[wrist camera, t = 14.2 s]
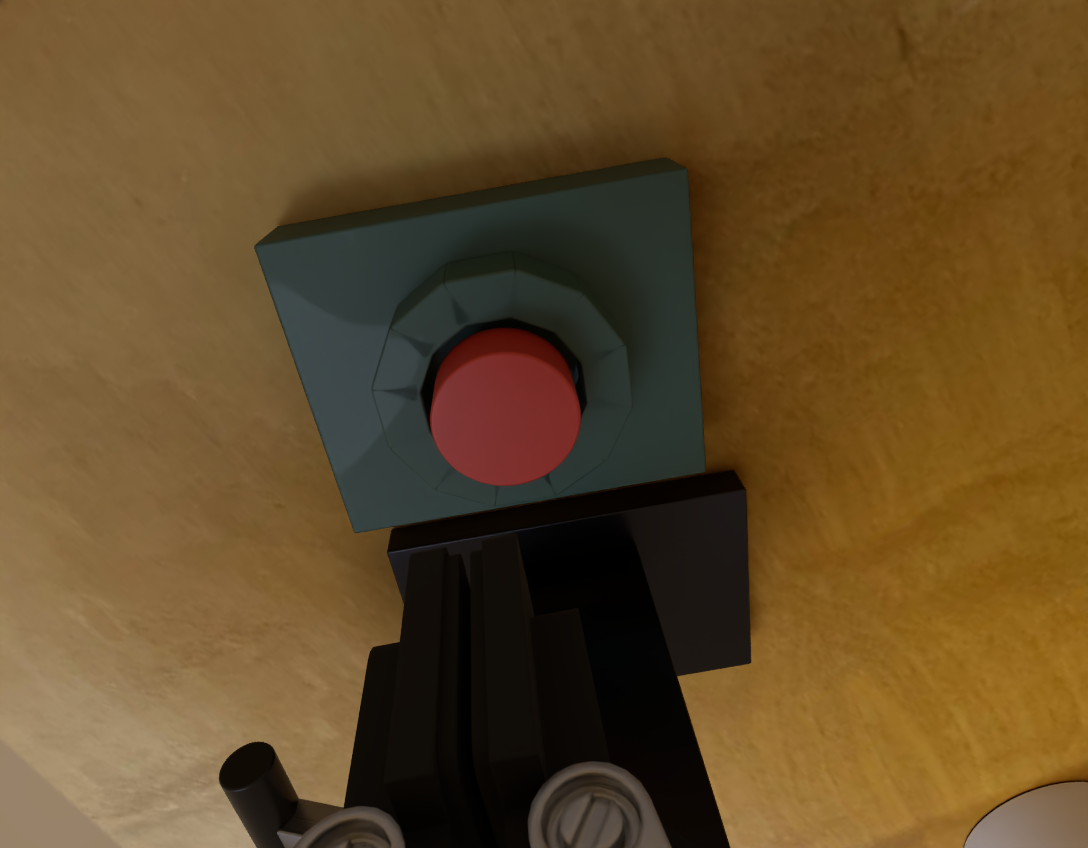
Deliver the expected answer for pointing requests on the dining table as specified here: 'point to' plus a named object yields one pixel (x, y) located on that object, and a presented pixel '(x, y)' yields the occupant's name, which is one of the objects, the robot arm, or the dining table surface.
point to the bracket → (634, 613)
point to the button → (504, 407)
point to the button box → (497, 302)
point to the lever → (268, 797)
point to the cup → (1037, 820)
